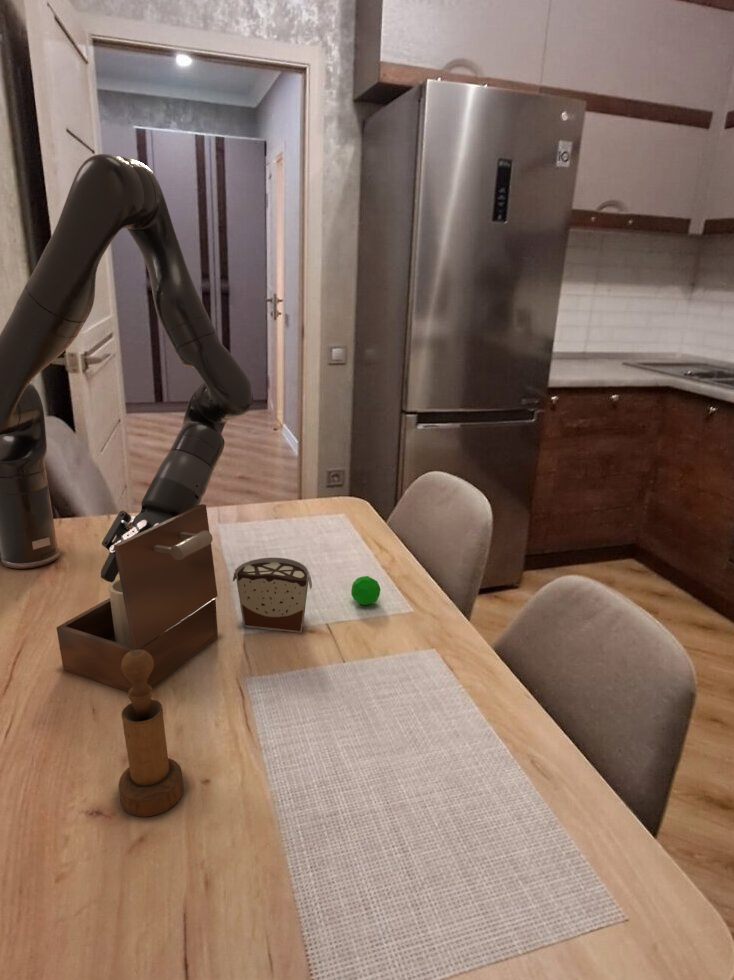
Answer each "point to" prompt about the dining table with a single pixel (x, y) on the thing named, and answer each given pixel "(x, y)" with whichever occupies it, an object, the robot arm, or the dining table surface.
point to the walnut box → (100, 656)
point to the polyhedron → (365, 590)
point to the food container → (273, 593)
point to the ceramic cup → (119, 614)
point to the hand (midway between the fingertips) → (129, 587)
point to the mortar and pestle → (146, 746)
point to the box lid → (166, 574)
